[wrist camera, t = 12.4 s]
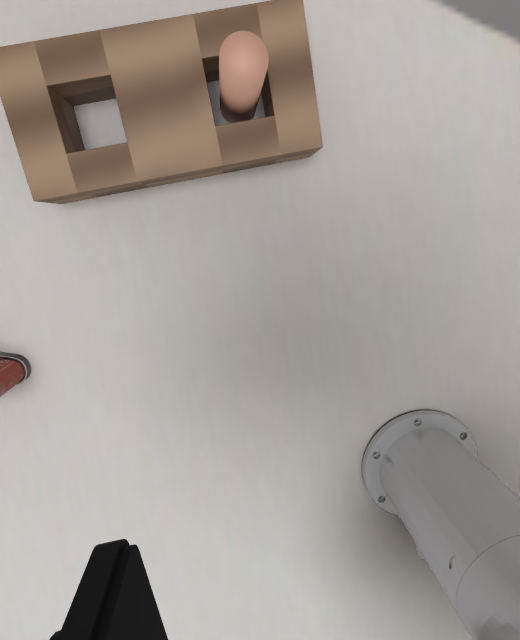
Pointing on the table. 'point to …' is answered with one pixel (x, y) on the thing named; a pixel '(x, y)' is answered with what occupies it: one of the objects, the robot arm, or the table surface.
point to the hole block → (156, 102)
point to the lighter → (12, 370)
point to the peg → (241, 75)
